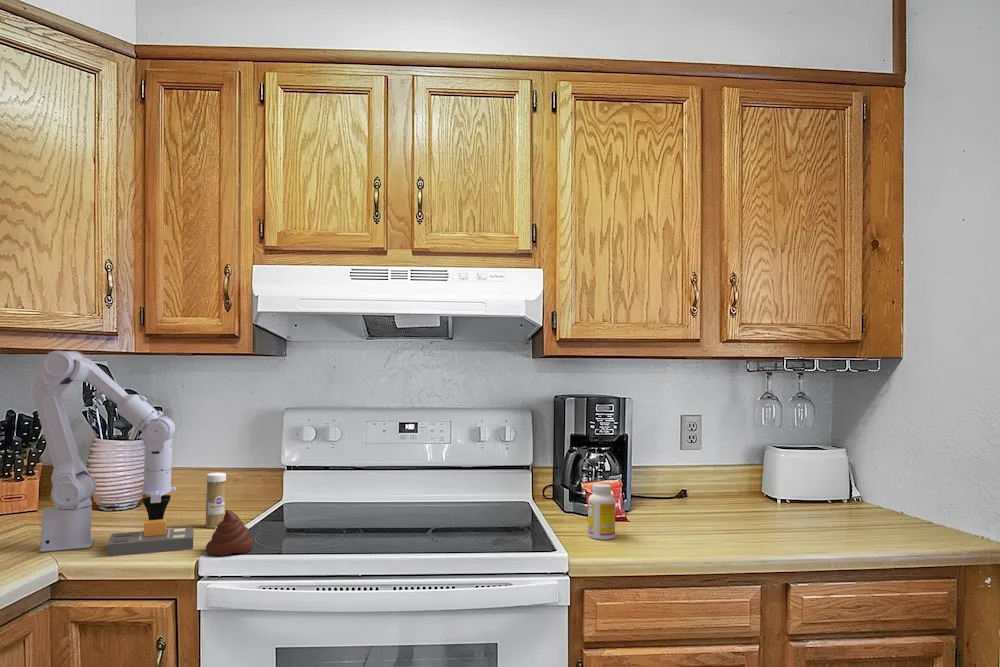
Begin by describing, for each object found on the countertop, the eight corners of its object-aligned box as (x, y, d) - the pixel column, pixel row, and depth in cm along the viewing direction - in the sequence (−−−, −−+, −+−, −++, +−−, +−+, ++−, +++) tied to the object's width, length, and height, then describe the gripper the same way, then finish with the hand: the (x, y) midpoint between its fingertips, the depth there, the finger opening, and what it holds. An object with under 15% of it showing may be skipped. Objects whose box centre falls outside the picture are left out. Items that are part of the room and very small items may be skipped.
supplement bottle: (619, 536, 172) (619, 484, 172) (607, 542, 166) (608, 488, 167) (595, 532, 175) (595, 481, 176) (583, 537, 170) (583, 485, 170)
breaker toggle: (143, 536, 154) (144, 523, 154) (144, 533, 157) (145, 520, 157) (165, 534, 156) (165, 521, 156) (166, 531, 158) (166, 518, 158)
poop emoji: (210, 559, 146) (212, 515, 147) (201, 550, 153) (202, 508, 154) (258, 552, 152) (259, 510, 152) (247, 544, 159) (248, 503, 159)
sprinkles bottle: (212, 529, 171) (214, 475, 172) (201, 527, 173) (202, 473, 174) (228, 526, 175) (230, 473, 176) (216, 523, 177) (218, 471, 178)
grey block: (106, 556, 147) (106, 543, 147) (111, 544, 156) (111, 532, 156) (193, 548, 154) (193, 536, 154) (193, 538, 163) (193, 526, 163)
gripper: (176, 473, 154) (174, 534, 154) (177, 464, 167) (175, 520, 167) (141, 475, 151) (138, 537, 151) (145, 465, 165) (143, 522, 164)
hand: (155, 528), depth 159 cm, fingers closed
